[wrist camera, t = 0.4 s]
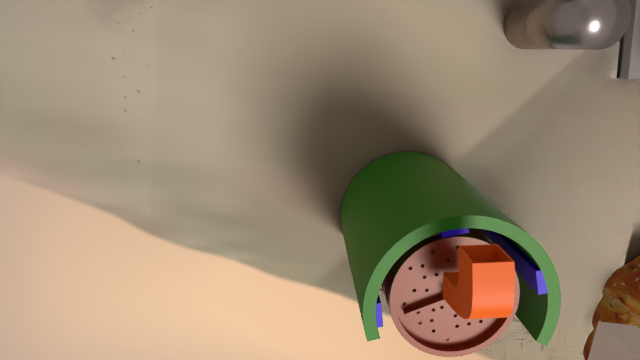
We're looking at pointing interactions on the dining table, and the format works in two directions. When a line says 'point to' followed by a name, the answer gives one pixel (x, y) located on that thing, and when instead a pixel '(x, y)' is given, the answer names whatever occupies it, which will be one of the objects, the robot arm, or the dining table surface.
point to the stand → (630, 46)
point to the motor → (442, 258)
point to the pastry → (618, 300)
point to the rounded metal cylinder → (567, 23)
